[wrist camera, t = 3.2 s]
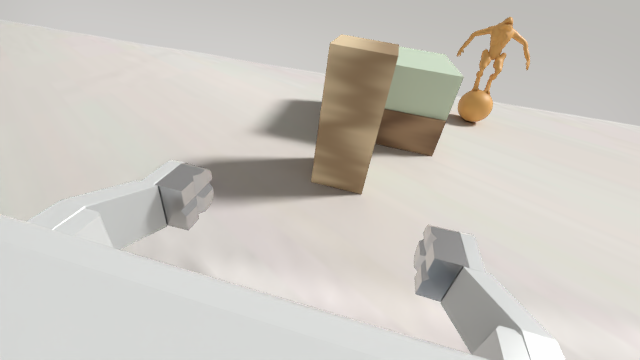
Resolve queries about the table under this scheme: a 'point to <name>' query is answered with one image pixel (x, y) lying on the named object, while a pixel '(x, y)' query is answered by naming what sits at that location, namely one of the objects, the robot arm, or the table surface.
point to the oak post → (352, 110)
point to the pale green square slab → (423, 84)
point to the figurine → (478, 101)
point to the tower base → (409, 132)
